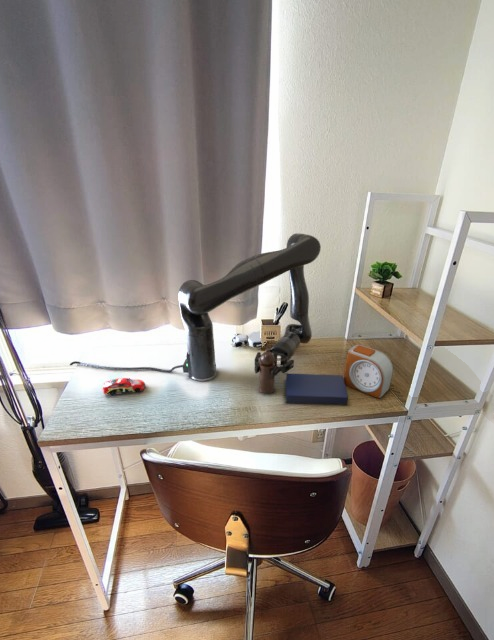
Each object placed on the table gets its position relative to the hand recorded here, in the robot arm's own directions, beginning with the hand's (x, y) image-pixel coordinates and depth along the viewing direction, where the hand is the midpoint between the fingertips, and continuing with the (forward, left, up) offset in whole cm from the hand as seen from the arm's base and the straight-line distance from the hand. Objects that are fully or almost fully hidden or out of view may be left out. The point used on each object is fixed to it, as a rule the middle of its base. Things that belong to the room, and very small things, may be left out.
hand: (264, 372), depth 120 cm
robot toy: (-7, +36, -9) cm, 38 cm away
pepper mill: (+1, +2, -8) cm, 8 cm away
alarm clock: (+36, +8, -9) cm, 37 cm away
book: (+18, +3, -9) cm, 20 cm away
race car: (-46, 0, -9) cm, 47 cm away
